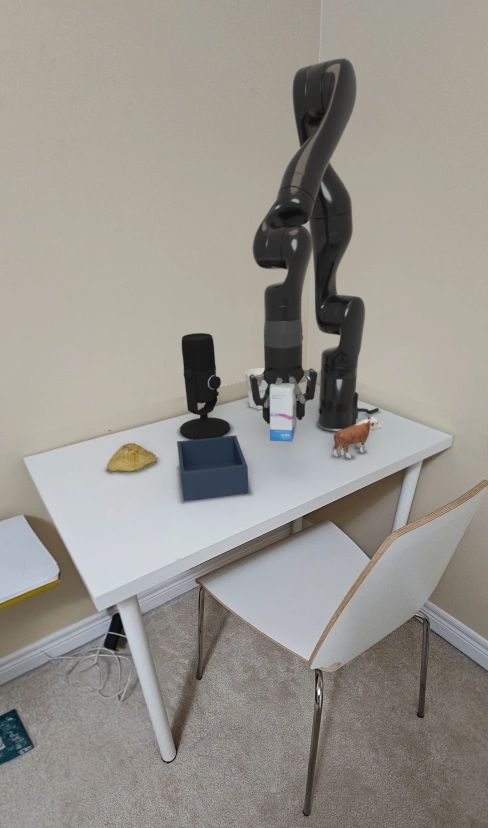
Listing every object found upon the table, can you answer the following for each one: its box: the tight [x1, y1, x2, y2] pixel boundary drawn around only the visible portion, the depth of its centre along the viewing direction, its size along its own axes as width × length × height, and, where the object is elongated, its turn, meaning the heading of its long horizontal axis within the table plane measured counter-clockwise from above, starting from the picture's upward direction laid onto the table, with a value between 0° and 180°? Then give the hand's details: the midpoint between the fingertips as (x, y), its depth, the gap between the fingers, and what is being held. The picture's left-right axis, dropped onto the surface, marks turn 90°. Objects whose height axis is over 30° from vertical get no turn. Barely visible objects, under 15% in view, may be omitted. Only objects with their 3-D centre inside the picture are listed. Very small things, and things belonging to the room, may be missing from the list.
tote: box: [176, 434, 250, 502], centre depth 104 cm, size 14×16×7 cm
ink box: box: [269, 383, 298, 443], centre depth 100 cm, size 9×5×12 cm, turn 169°
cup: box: [244, 367, 270, 410], centre depth 143 cm, size 10×10×10 cm
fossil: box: [106, 442, 158, 473], centre depth 113 cm, size 11×6×10 cm
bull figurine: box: [332, 415, 382, 459], centre depth 113 cm, size 4×13×8 cm, turn 121°
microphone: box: [179, 332, 231, 440], centre depth 124 cm, size 14×14×25 cm
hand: (283, 420), depth 102 cm, fingers closed on ink box, 6 cm apart
